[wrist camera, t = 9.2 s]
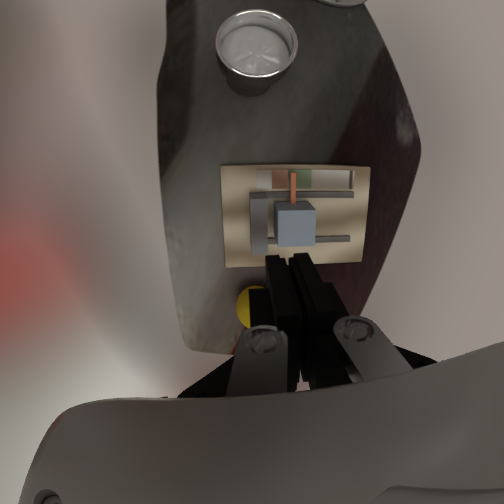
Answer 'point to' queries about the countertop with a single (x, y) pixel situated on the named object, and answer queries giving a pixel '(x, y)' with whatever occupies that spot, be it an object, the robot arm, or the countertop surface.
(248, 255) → the gauge board
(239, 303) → the lemon
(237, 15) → the grey metal cup
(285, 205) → the slider block with pointer
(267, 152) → the countertop surface
